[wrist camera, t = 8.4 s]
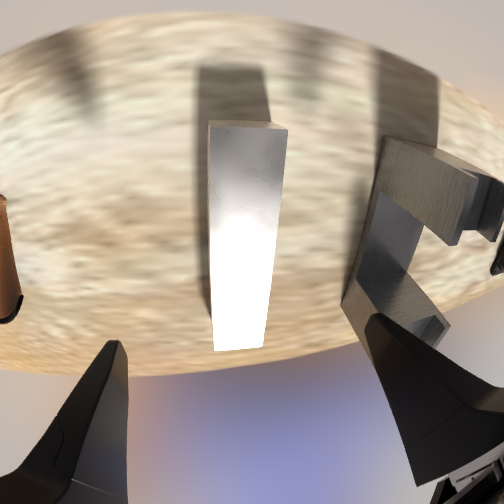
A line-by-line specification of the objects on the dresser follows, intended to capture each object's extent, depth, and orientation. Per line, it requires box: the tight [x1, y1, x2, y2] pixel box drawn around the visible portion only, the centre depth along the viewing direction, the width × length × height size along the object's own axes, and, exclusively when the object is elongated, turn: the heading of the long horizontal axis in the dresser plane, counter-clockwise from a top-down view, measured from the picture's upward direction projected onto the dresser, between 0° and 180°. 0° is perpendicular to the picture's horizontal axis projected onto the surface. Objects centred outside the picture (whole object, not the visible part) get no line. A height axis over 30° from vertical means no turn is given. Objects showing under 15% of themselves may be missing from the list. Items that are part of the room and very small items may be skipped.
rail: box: [207, 120, 288, 351], centre depth 13 cm, size 3×12×3 cm, turn 176°
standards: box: [341, 135, 504, 370], centre depth 14 cm, size 5×12×6 cm, turn 177°
